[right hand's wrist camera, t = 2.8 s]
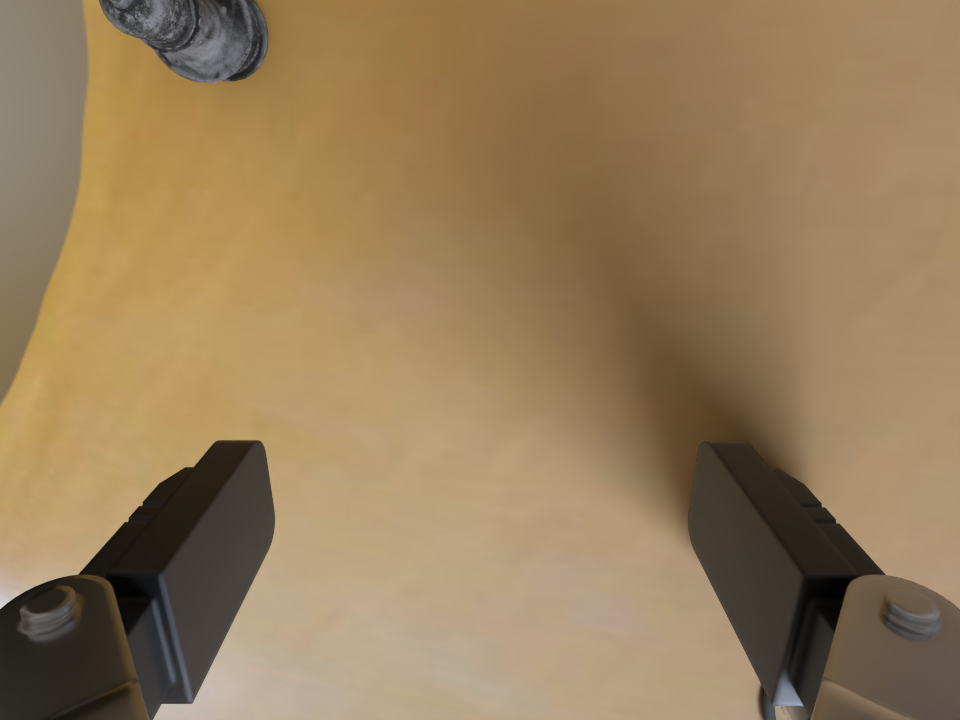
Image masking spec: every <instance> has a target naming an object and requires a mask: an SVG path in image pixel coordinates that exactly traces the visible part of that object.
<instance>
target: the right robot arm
mask: <svg viewBox="0 0 960 720" xmlns="http://www.w3.org/2000/svg"><path fill="white" fill-rule="evenodd" d="M688 526H689V534H690V539H691V543H692V546H693V549H694V551H695V553H696V555H697V557H698V559H699V561H700V563H701V565H702V567H703V569H704V571H705V573H706V575H707V577H708V579H709V581H710V583H711V585H712V587H713V589H714V591H715V593H716V595H717V597H718V599H719V601H720V602H721V604H722V606H723V608H724V610H725V612H726V614H727V616H728V618H729V620H730V622H731V624H732V626H733V628H734V630H735V632H736V634H737V636H738V638H739V640H740V642H741V644H742V646H743V648H744V650H745V652H746V654H747V656H748V658H749V660H750V662H751V664H752V666H753V668H754V670H755V672H756V674H757V676H758V678H759V680H760V682H761V684H762V686H763V688H764V696H763V712H764V718H765V720H776V717H775V706H781V708H782V710H783V712H784V714H785V715H786V717H787V719H788V720H960V609H959V608H958V607H956V606H955V605H954V604H953V603H952V602H950V601H949V600H947V599H946V598H944V597H943V596H941V595H939V594H938V593H936V592H934V591H932V590H930V589H928V588H926V587H924V586H922V585H919V584H917V583H914V582H912V581H909V580H905V579H902V578H898V577H893V576H887V575H885V574H884V573H883V571H882V570H881V569H880V568H879V567H878V566H877V565H876V564H875V563H874V561H873V560H872V559H871V558H870V557H869V556H868V555H867V554H866V553H865V551H864V550H863V549H862V548H861V547H860V546H859V545H858V544H857V543H856V541H855V540H854V539H853V538H852V537H851V536H850V535H849V534H848V533H847V531H846V530H845V529H844V528H843V527H842V526H841V525H840V524H836V519H835V518H834V517H833V516H832V515H831V514H830V513H829V511H828V510H827V509H826V508H825V507H822V506H821V502H820V501H819V500H818V499H817V498H816V497H815V496H814V495H813V494H812V492H811V491H810V490H809V489H808V488H807V487H806V486H805V485H804V484H803V483H801V482H799V481H798V480H796V479H794V478H793V477H791V476H790V475H788V474H786V473H785V472H783V471H782V470H780V469H770V468H769V466H768V465H767V464H766V463H765V462H764V460H763V459H762V458H761V457H760V456H759V455H758V453H757V452H756V451H755V450H754V449H753V447H752V446H751V445H750V444H749V443H747V442H744V441H705V442H703V443H702V444H701V445H700V447H699V450H698V454H697V460H696V467H695V474H694V480H693V487H692V494H691V500H690V507H689V515H688ZM274 527H275V512H274V505H273V498H272V491H271V485H270V478H269V471H268V464H267V458H266V452H265V448H264V445H263V444H262V442H261V441H258V440H219V441H216V442H215V443H214V444H213V445H212V446H211V447H210V448H209V450H208V451H207V452H206V453H205V454H204V456H203V457H202V458H201V459H200V460H199V462H198V463H197V464H196V465H195V466H194V467H185V468H184V469H182V470H180V471H179V472H177V473H176V474H174V475H172V476H171V477H169V478H168V479H166V480H164V481H163V482H161V483H159V485H158V486H157V487H156V488H155V489H154V490H153V491H152V492H151V494H150V495H149V496H148V497H147V498H146V499H145V500H144V501H143V505H142V506H139V507H138V508H137V509H136V510H135V512H134V513H133V514H132V515H131V516H130V517H129V521H128V522H125V523H124V524H123V525H122V526H121V527H120V528H119V530H118V531H117V532H116V533H115V534H114V535H113V536H112V537H111V538H110V540H109V541H108V542H107V543H106V544H105V545H104V546H103V547H102V549H101V550H100V551H99V552H98V553H97V554H96V555H95V556H94V558H93V559H92V560H91V561H90V562H89V563H88V564H87V565H86V567H85V568H84V569H83V570H82V571H81V572H80V573H79V574H78V575H73V576H67V577H62V578H58V579H55V580H51V581H48V582H46V583H43V584H41V585H38V586H36V587H34V588H32V589H30V590H28V591H26V592H24V593H22V594H21V595H19V596H17V597H16V598H14V599H13V600H11V601H10V602H8V603H7V604H6V605H5V606H4V607H2V608H1V609H0V720H153V718H154V716H155V715H156V713H157V711H158V709H159V707H160V706H161V704H192V703H193V701H194V699H195V697H196V695H197V693H198V691H199V689H200V687H201V685H202V683H203V681H204V679H205V677H206V675H207V673H208V671H209V669H210V667H211V665H212V663H213V661H214V659H215V657H216V655H217V653H218V651H219V649H220V647H221V645H222V643H223V641H224V639H225V637H226V635H227V633H228V631H229V629H230V627H231V624H232V622H233V620H234V618H235V616H236V614H237V612H238V610H239V608H240V606H241V604H242V602H243V600H244V598H245V596H246V594H247V592H248V590H249V588H250V586H251V584H252V582H253V580H254V578H255V576H256V574H257V572H258V570H259V568H260V566H261V564H262V562H263V560H264V558H265V556H266V554H267V552H268V550H269V548H270V545H271V542H272V539H273V534H274Z"/></svg>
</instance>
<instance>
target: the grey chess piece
mask: <svg viewBox="0 0 960 720" xmlns="http://www.w3.org/2000/svg"><path fill="white" fill-rule="evenodd" d="M99 2H100V5H101V8H102V10H103V12H104V14H105V16H106V17H107V19H108V20H109V21H110V22H111V23H112V24H113V25H114V26H115V27H116V28H118V29H119V30H121V31H122V32H124V33H125V34H128V35H131V36H134V37H138V38H140V39H141V40H142V41H143V42H144V43H145V44H147V45H148V46H150V47H151V48H153V49H154V51H155V52H156V54H157V55H158V57H159V58H160V59H161V60H162V61H163V62H164V63H165V64H166V65H167V66H168V67H169V68H170V69H171V70H172V71H174V72H176V73H177V74H179V75H180V76H182V77H183V78H186V79H189V80H192V81H195V82H203V83H214V82H218V81H237V80H241V79H245V78H246V77H248V76H250V75H251V74H253V73H254V72H255V71H256V70H257V69H258V68H259V66H260V65H261V64H262V61H263V59H264V57H265V55H266V51H267V46H268V32H267V26H266V23H265V19H264V16H263V14H262V13H261V11H260V9H259V7H258V5H257V4H256V3H255V2H254V0H99Z"/></svg>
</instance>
